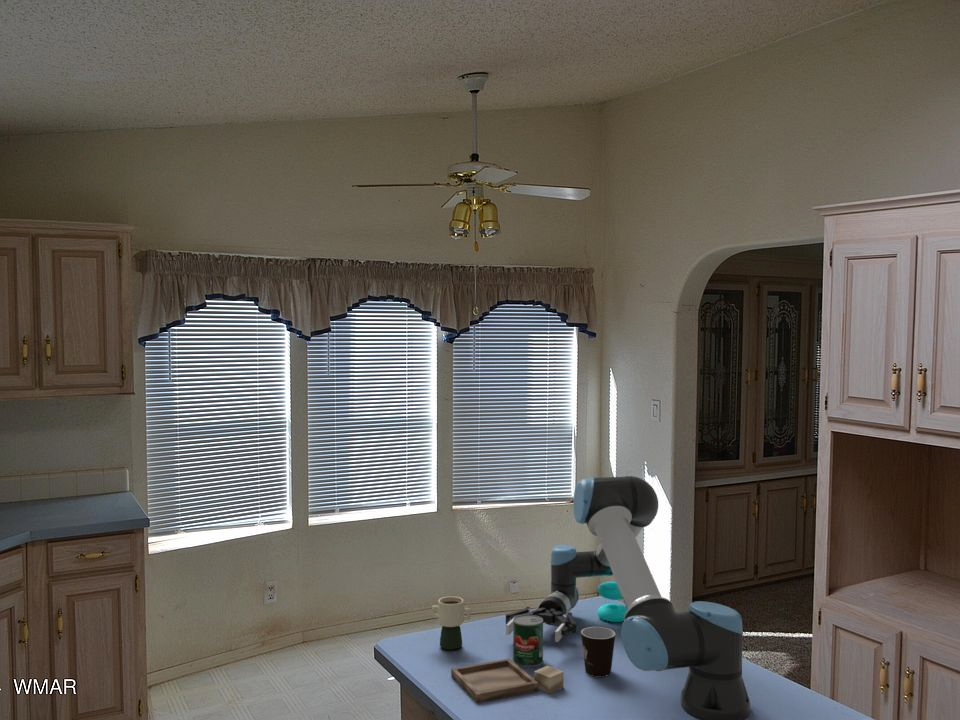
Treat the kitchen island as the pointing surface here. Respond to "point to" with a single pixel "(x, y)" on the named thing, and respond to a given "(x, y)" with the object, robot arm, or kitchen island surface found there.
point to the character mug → (450, 620)
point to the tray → (494, 680)
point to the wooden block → (549, 679)
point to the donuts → (611, 610)
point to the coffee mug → (598, 650)
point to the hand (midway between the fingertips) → (531, 633)
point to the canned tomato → (528, 640)
